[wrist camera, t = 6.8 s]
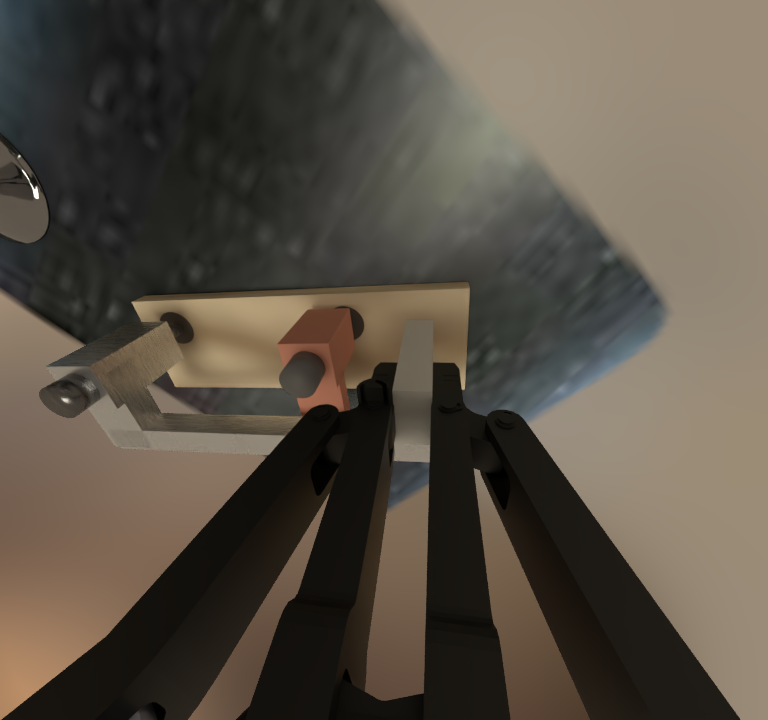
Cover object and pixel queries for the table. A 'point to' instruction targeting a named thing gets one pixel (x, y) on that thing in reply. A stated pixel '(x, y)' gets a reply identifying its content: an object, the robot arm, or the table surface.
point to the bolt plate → (284, 308)
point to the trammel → (138, 409)
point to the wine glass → (20, 198)
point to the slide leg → (318, 358)
